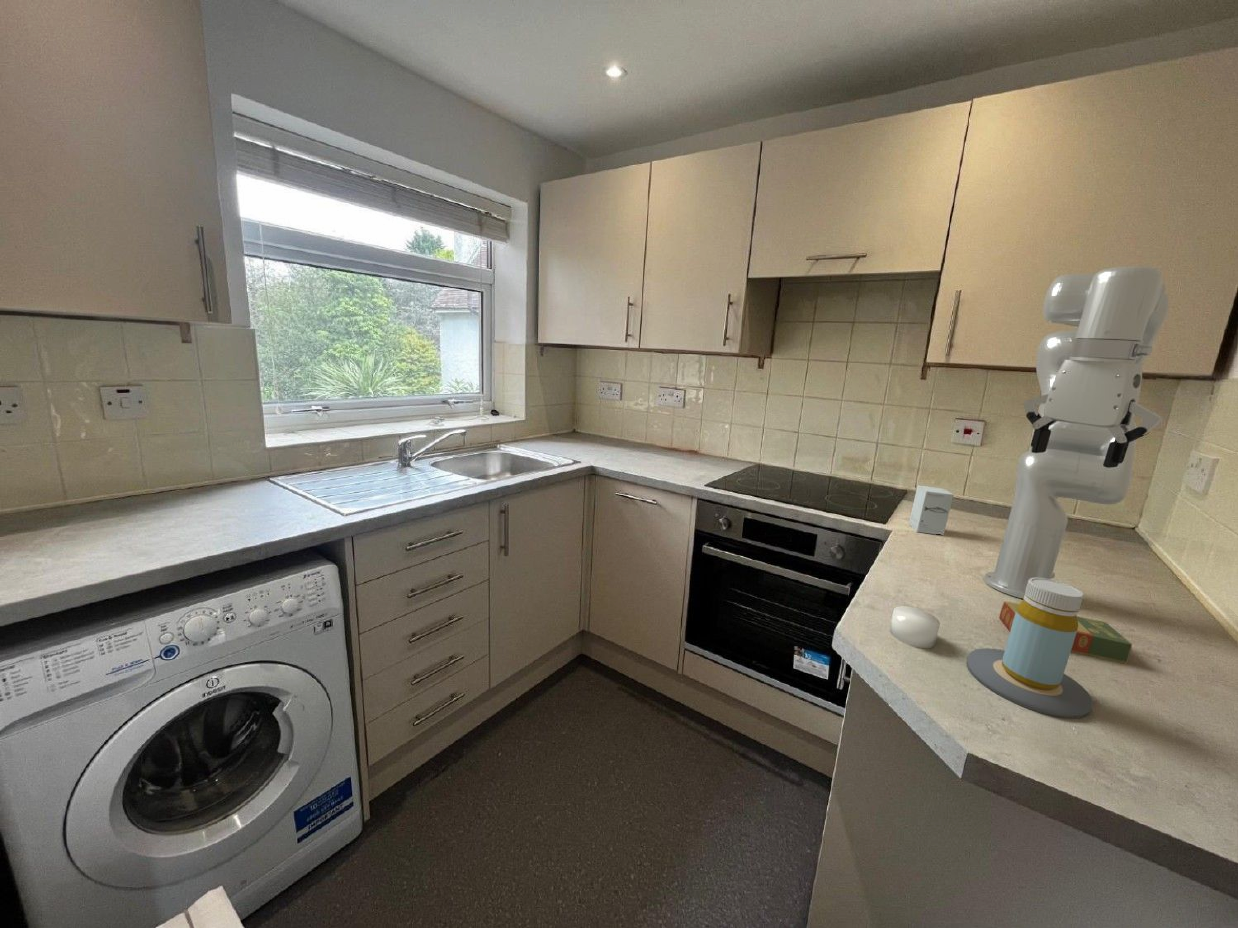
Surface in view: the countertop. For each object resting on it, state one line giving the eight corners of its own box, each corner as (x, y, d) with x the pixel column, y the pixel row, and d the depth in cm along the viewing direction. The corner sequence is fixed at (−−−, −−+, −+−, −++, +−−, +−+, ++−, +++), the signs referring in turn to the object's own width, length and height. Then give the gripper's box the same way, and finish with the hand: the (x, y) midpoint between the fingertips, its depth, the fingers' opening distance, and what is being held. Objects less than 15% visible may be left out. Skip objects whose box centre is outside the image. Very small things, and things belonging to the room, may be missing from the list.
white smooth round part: (905, 623, 92) (910, 603, 91) (943, 644, 86) (949, 623, 85) (880, 629, 89) (884, 609, 88) (917, 652, 83) (923, 630, 82)
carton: (997, 619, 97) (1003, 599, 96) (1100, 641, 92) (1107, 620, 91) (1014, 640, 89) (1020, 618, 88) (1127, 665, 84) (1135, 643, 83)
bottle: (1001, 657, 81) (1025, 572, 78) (1057, 677, 77) (1085, 587, 73) (999, 676, 75) (1025, 585, 72) (1060, 699, 71) (1090, 603, 68)
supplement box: (916, 532, 145) (925, 490, 142) (908, 524, 152) (916, 484, 149) (944, 536, 143) (954, 494, 140) (934, 528, 150) (944, 487, 147)
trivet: (999, 646, 86) (1000, 640, 86) (1111, 703, 73) (1113, 696, 73) (945, 664, 80) (947, 658, 79) (1058, 729, 67) (1060, 722, 66)
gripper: (1193, 356, 72) (1154, 471, 76) (1050, 350, 87) (1024, 446, 91) (1170, 355, 68) (1131, 475, 73) (1026, 348, 83) (1001, 448, 88)
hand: (1072, 459), depth 82 cm, fingers open, 9 cm apart
